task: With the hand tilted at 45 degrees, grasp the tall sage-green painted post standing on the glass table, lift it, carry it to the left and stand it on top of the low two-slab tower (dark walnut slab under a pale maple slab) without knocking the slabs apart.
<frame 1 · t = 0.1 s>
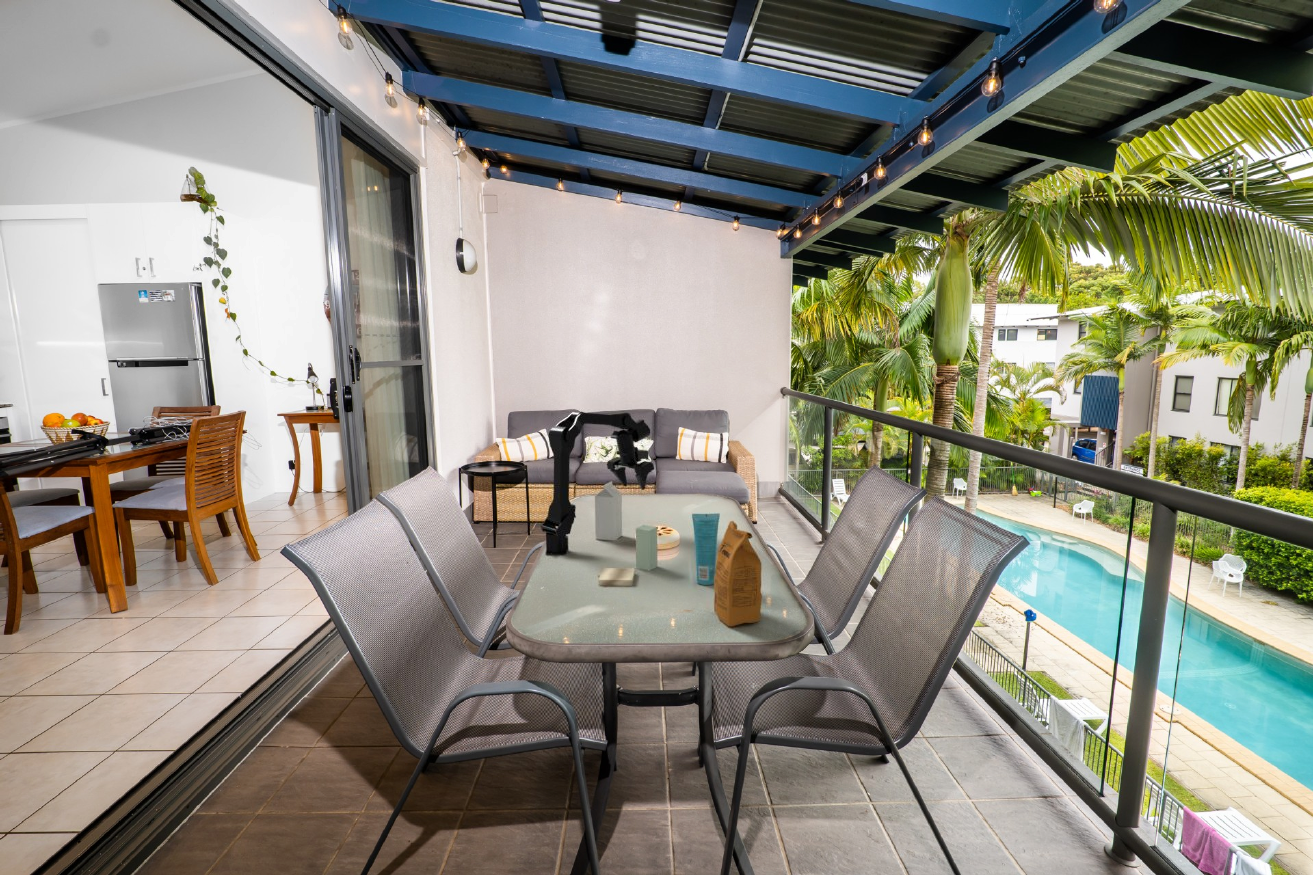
hand: (634, 487, 215), 15 cm above the table, tool pointing down, fingers open, 9 cm apart
coffee package: (736, 617, 143), on the table
post: (646, 569, 175), on the table
slab top: (617, 579, 165), point 1 cm above the table
tube: (705, 582, 165), on the table
slab bottom: (617, 584, 165), on the table
milk carton: (608, 538, 208), on the table
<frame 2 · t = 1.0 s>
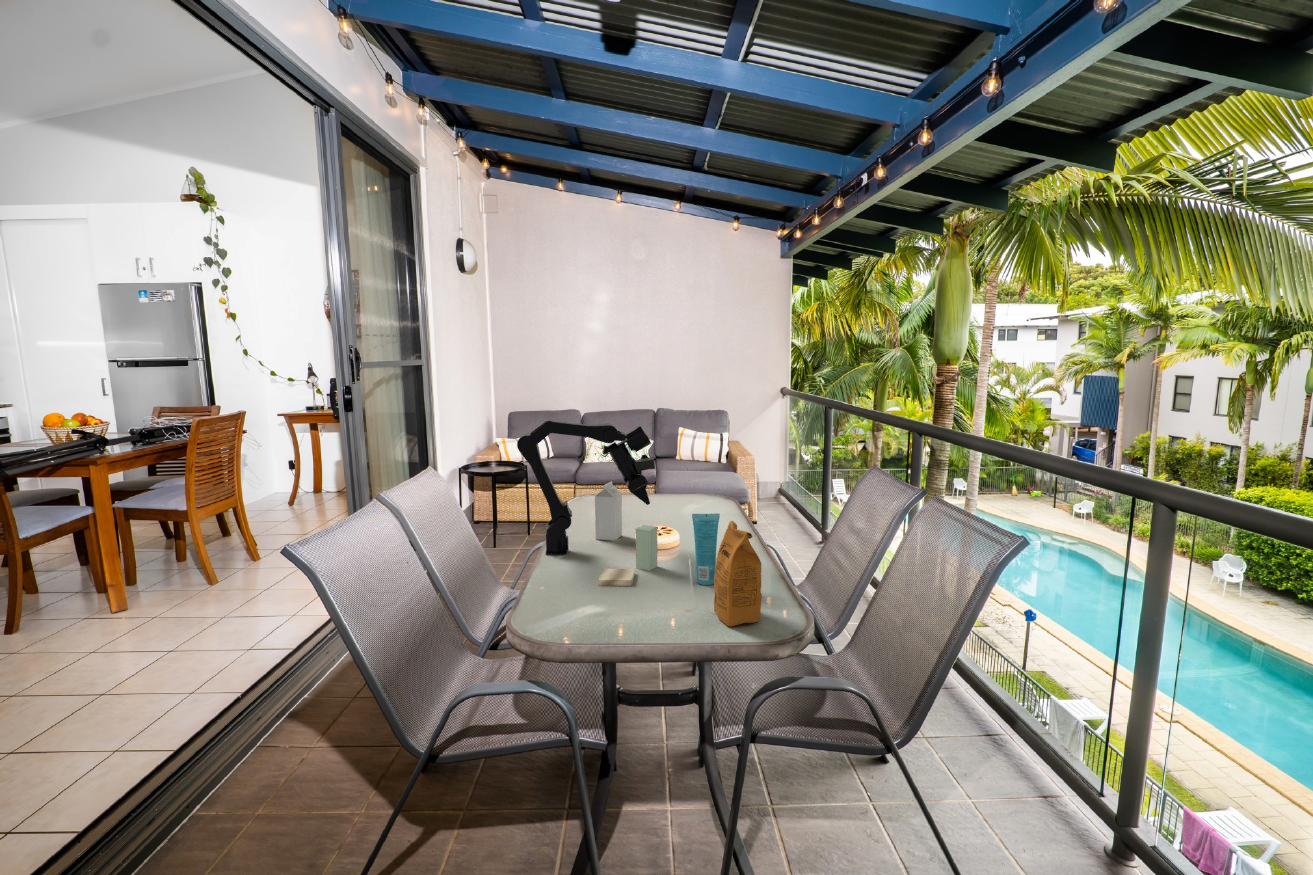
hand: (646, 500, 194), 15 cm above the table, tool tilted 30°, fingers open, 9 cm apart
slab top: (616, 579, 165), point 1 cm above the table, touching slab bottom
slab bottom: (617, 584, 165), on the table, touching slab top
everything else where it was.
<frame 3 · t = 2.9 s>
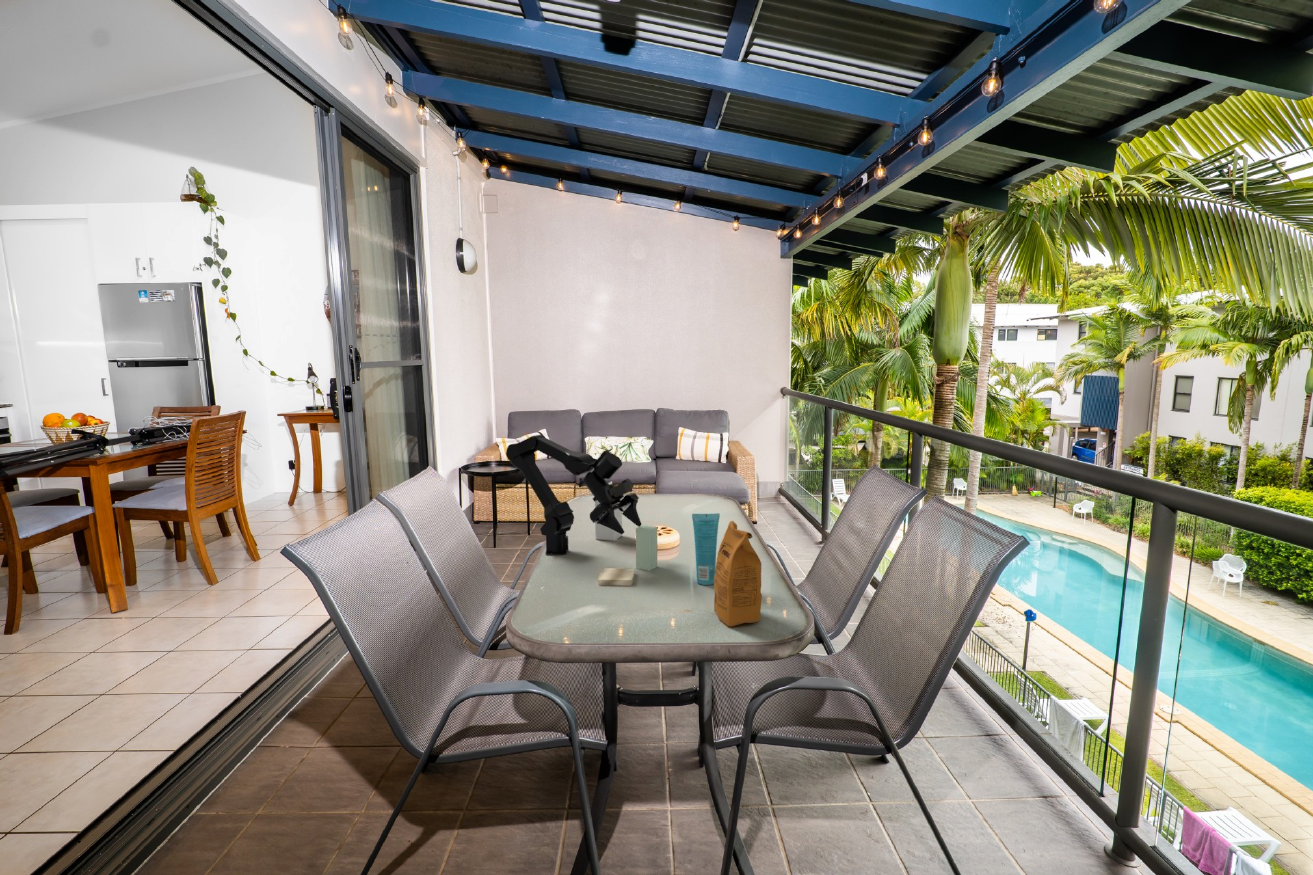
hand: (632, 529, 176), 11 cm above the table, tool tilted 45°, fingers open, 9 cm apart
nothing on the table moved.
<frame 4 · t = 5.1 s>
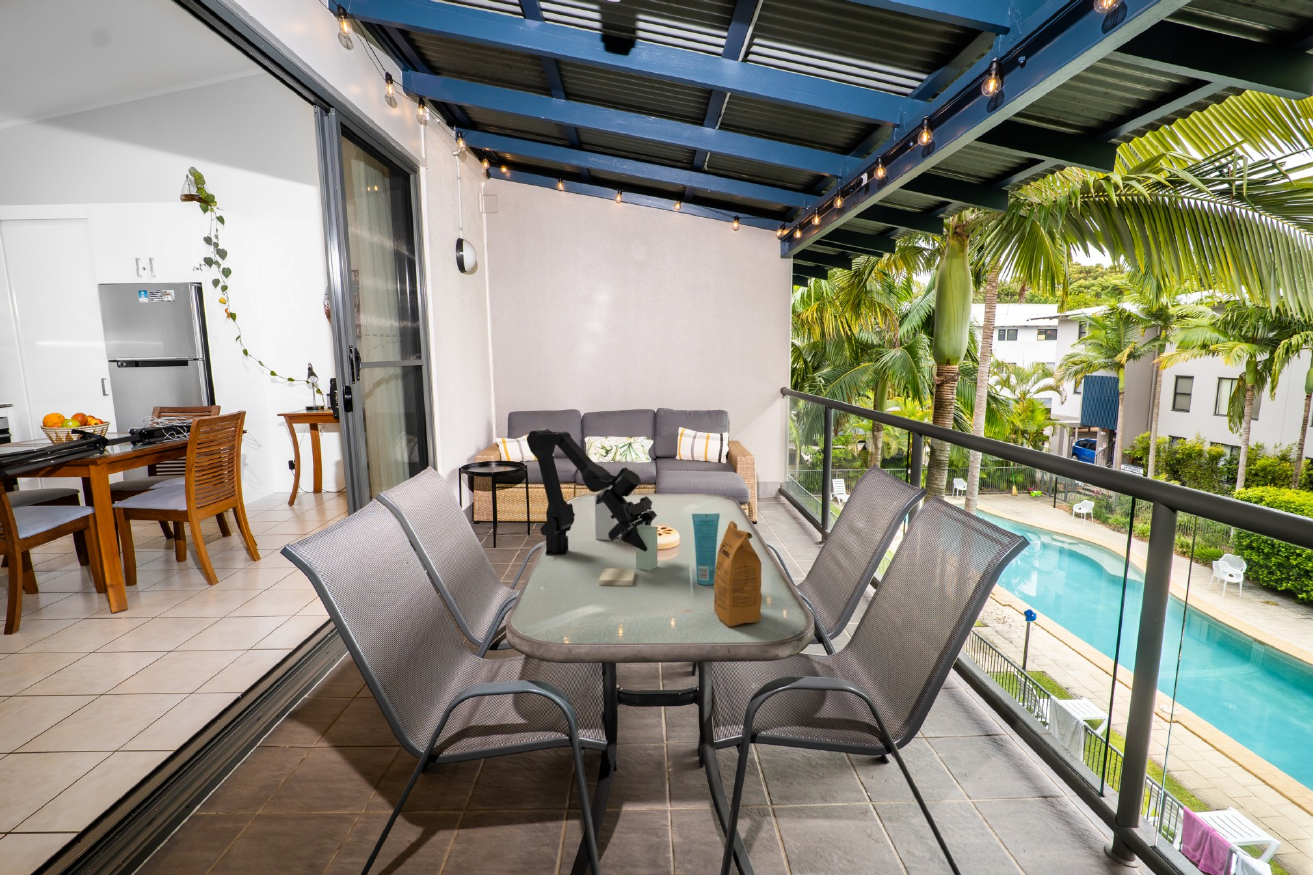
hand: (650, 548, 174), 7 cm above the table, tool tilted 45°, fingers closed on post, 4 cm apart
post: (646, 569, 175), on the table, touching gripper
slab top: (617, 579, 165), point 1 cm above the table
slab bottom: (617, 585, 165), on the table
everything else where it was.
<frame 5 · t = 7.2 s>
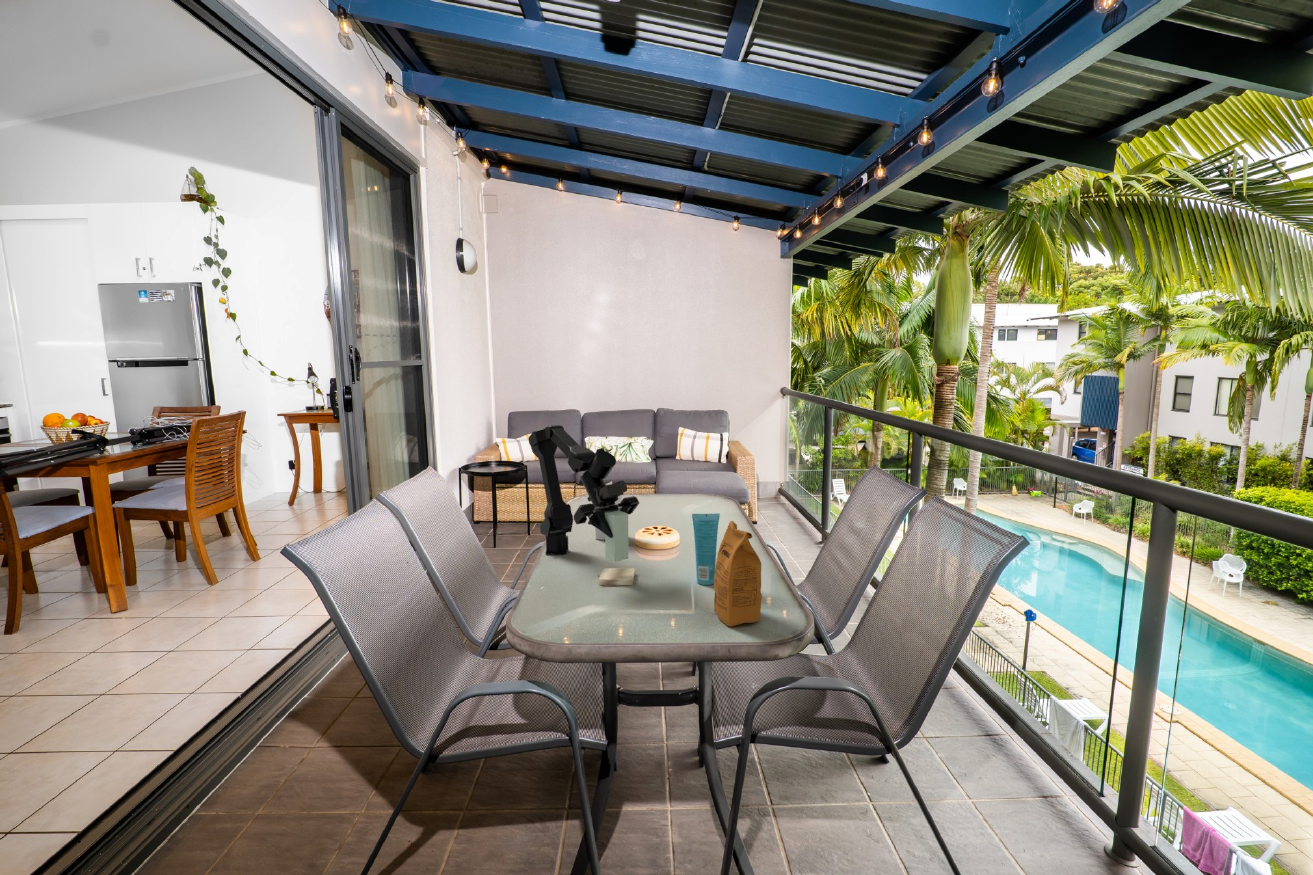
hand: (619, 535, 163), 13 cm above the table, tool tilted 45°, fingers closed on post, 4 cm apart
post: (616, 558, 165), point 7 cm above the table, touching gripper
slab top: (617, 579, 165), point 1 cm above the table, touching slab bottom
slab bottom: (617, 584, 165), on the table, touching slab top
everything else where it was.
when the fingers open (10 cm above the table, at t = 8.1 s): post drops 2 cm, resting on slab top.
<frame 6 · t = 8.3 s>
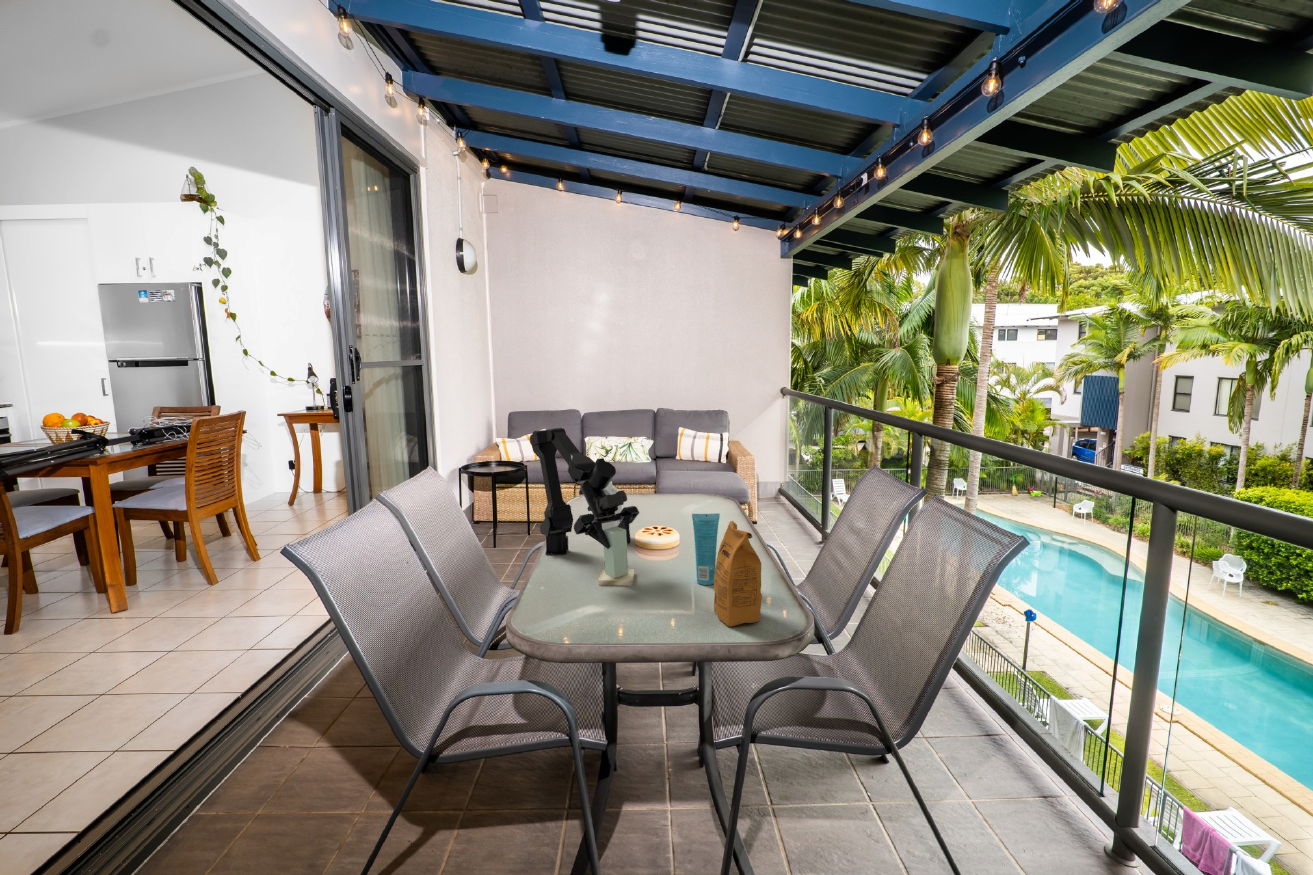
hand: (619, 545, 163), 11 cm above the table, tool tilted 45°, fingers open, 6 cm apart
post: (616, 574, 165), point 2 cm above the table, touching slab top
slab top: (616, 579, 165), point 1 cm above the table, touching post, slab bottom
everything else where it was.
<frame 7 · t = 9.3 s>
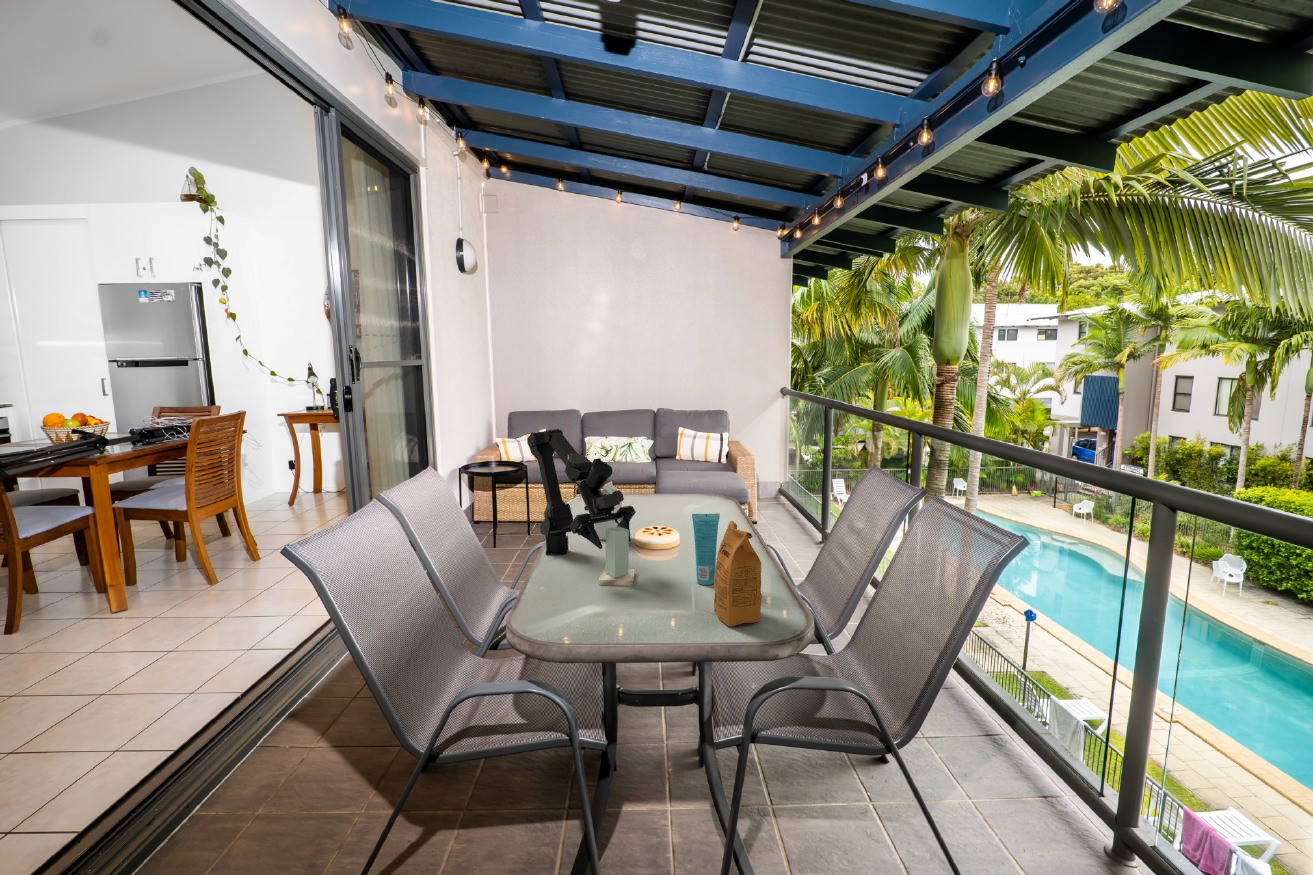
hand: (615, 545, 164), 10 cm above the table, tool tilted 45°, fingers open, 9 cm apart
post: (616, 574, 165), point 2 cm above the table
slab top: (617, 579, 165), point 1 cm above the table, touching slab bottom
everything else where it was.
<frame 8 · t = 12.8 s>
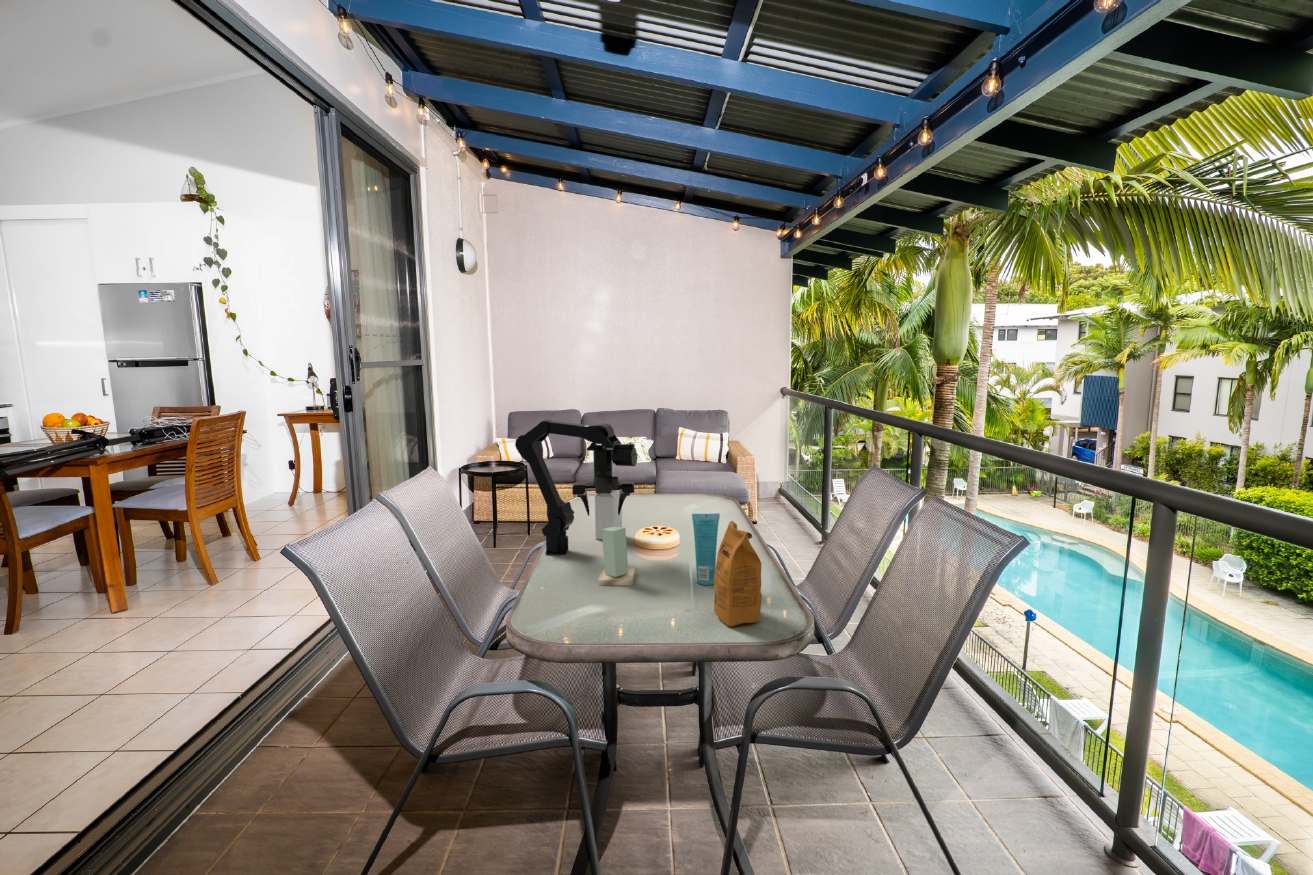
hand: (603, 515, 186), 13 cm above the table, tool pointing down, fingers open, 9 cm apart
slab top: (616, 579, 166), point 1 cm above the table
slab bottom: (616, 584, 165), on the table
at the end: post inside the target area on the slab top (0.4 cm from its centre), point 1.7 cm above the slab top's base; post tilted 5°; the gripper is holding nothing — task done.
